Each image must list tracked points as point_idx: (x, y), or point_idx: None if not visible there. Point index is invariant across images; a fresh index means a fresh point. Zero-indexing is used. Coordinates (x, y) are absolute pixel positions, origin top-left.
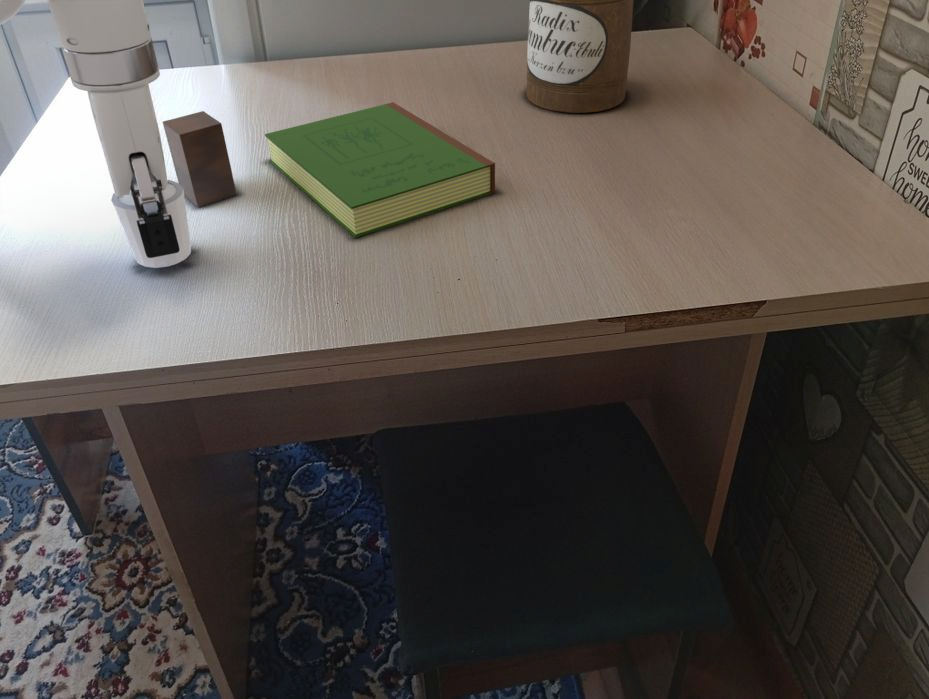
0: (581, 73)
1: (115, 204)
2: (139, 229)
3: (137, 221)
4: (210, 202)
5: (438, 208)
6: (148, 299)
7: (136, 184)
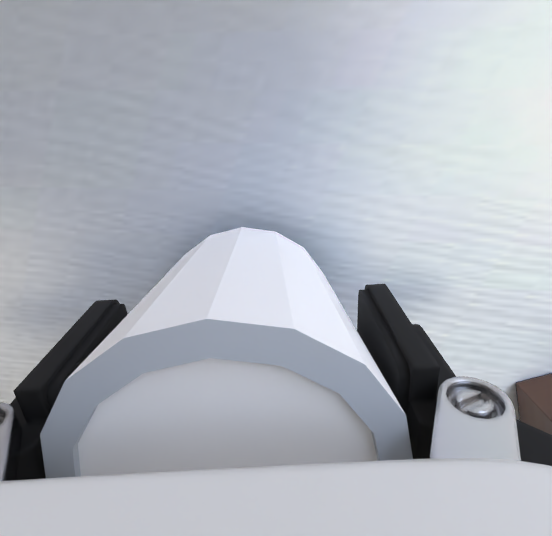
0: None
1: (133, 341)
2: (33, 370)
3: (28, 393)
4: (521, 412)
5: None
6: (55, 241)
7: (374, 438)
